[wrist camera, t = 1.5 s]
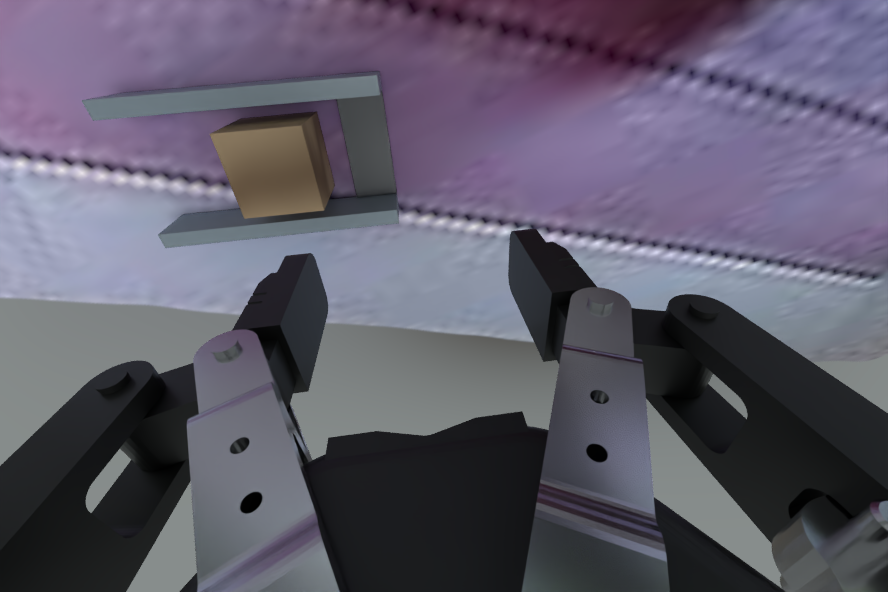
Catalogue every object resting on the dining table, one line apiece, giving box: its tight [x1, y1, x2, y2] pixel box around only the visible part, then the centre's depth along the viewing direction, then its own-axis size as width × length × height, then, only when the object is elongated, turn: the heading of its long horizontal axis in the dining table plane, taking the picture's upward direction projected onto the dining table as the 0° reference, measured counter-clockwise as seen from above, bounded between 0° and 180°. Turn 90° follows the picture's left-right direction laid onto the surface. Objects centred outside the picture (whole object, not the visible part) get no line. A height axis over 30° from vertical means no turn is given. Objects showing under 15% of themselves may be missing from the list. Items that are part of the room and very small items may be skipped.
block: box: [210, 112, 335, 219], centre depth 24 cm, size 5×5×5 cm
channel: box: [82, 71, 399, 248], centre depth 24 cm, size 9×16×4 cm, turn 94°
